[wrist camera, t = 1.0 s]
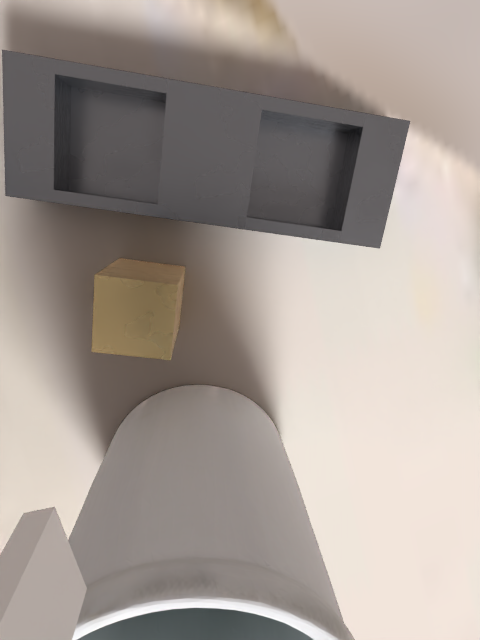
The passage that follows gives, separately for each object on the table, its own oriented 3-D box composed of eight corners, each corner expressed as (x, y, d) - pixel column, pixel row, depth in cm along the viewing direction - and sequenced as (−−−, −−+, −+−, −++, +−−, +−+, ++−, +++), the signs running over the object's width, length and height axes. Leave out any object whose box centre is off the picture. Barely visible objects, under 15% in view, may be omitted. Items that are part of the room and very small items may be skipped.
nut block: (116, 320, 28) (91, 352, 23) (119, 257, 27) (94, 274, 21) (179, 327, 29) (170, 360, 23) (185, 266, 28) (178, 285, 22)
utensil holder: (291, 366, 30) (388, 579, 13) (295, 526, 35) (370, 835, 18) (91, 382, 30) (-67, 625, 13) (121, 543, 34) (31, 878, 17)
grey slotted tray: (28, 195, 26) (5, 195, 23) (28, 67, 24) (2, 49, 21) (362, 242, 28) (379, 248, 25) (388, 129, 26) (410, 121, 23)
